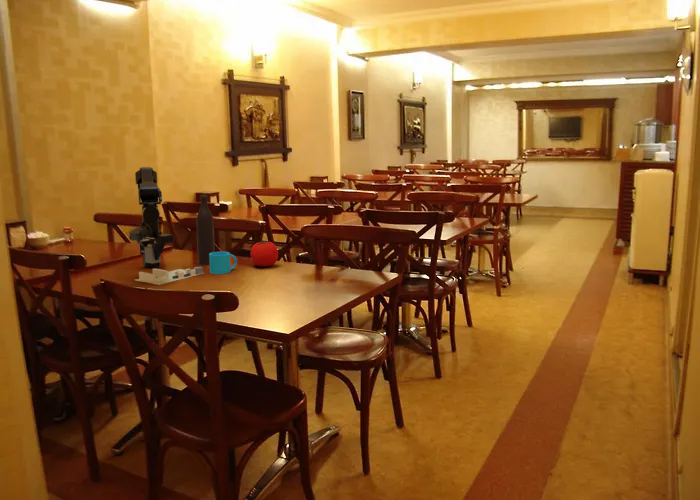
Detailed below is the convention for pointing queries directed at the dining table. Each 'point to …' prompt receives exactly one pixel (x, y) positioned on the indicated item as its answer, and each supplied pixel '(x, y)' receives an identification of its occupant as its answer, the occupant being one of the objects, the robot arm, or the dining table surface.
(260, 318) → the dining table surface
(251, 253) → the tomato
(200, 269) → the clamp and clips
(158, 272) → the holder
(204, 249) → the wine bottle
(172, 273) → the board
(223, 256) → the mug
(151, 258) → the block
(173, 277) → the cable
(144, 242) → the robot arm
